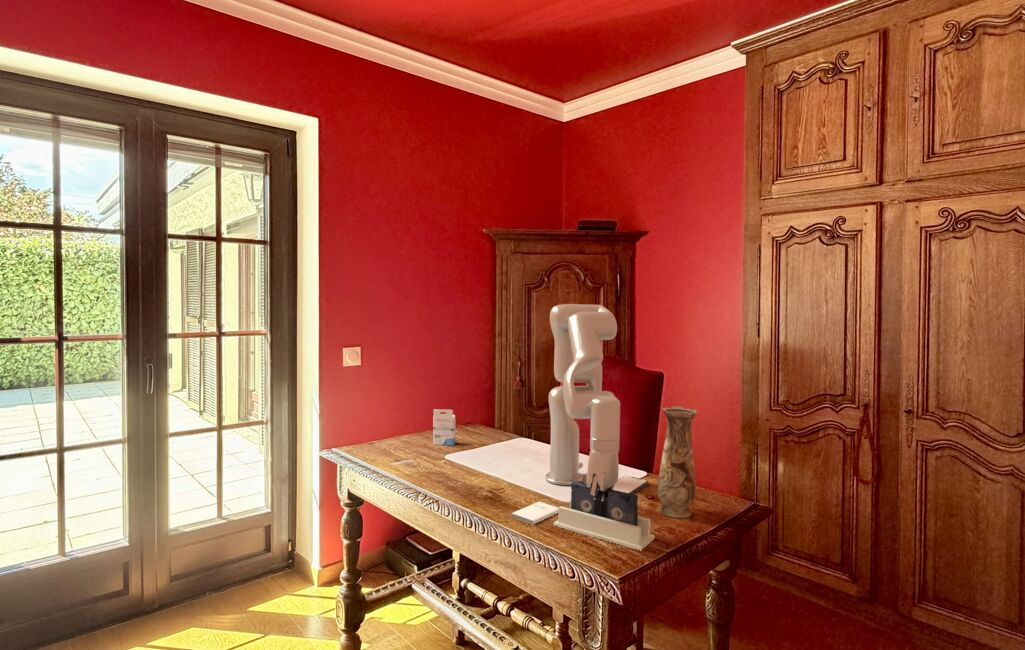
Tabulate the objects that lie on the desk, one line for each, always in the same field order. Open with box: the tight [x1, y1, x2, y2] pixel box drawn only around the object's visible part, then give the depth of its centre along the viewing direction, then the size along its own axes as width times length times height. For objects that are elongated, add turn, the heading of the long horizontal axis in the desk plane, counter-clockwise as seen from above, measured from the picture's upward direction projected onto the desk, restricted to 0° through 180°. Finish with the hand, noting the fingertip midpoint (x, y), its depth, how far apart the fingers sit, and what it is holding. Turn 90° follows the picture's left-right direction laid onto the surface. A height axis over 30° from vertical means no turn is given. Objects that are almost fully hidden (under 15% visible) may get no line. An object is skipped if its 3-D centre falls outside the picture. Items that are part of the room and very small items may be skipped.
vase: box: [657, 405, 698, 519], centre depth 162 cm, size 10×11×30 cm
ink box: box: [432, 408, 456, 446], centre depth 232 cm, size 8×5×15 cm, turn 85°
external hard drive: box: [510, 501, 558, 526], centre depth 160 cm, size 2×8×12 cm
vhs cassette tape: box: [570, 481, 639, 526], centre depth 149 cm, size 18×3×10 cm, turn 53°
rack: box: [552, 499, 656, 552], centre depth 149 cm, size 9×25×5 cm, turn 55°
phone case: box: [613, 475, 649, 495], centre depth 183 cm, size 9×2×16 cm
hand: (603, 512), depth 149 cm, fingers closed on vhs cassette tape, 2 cm apart
